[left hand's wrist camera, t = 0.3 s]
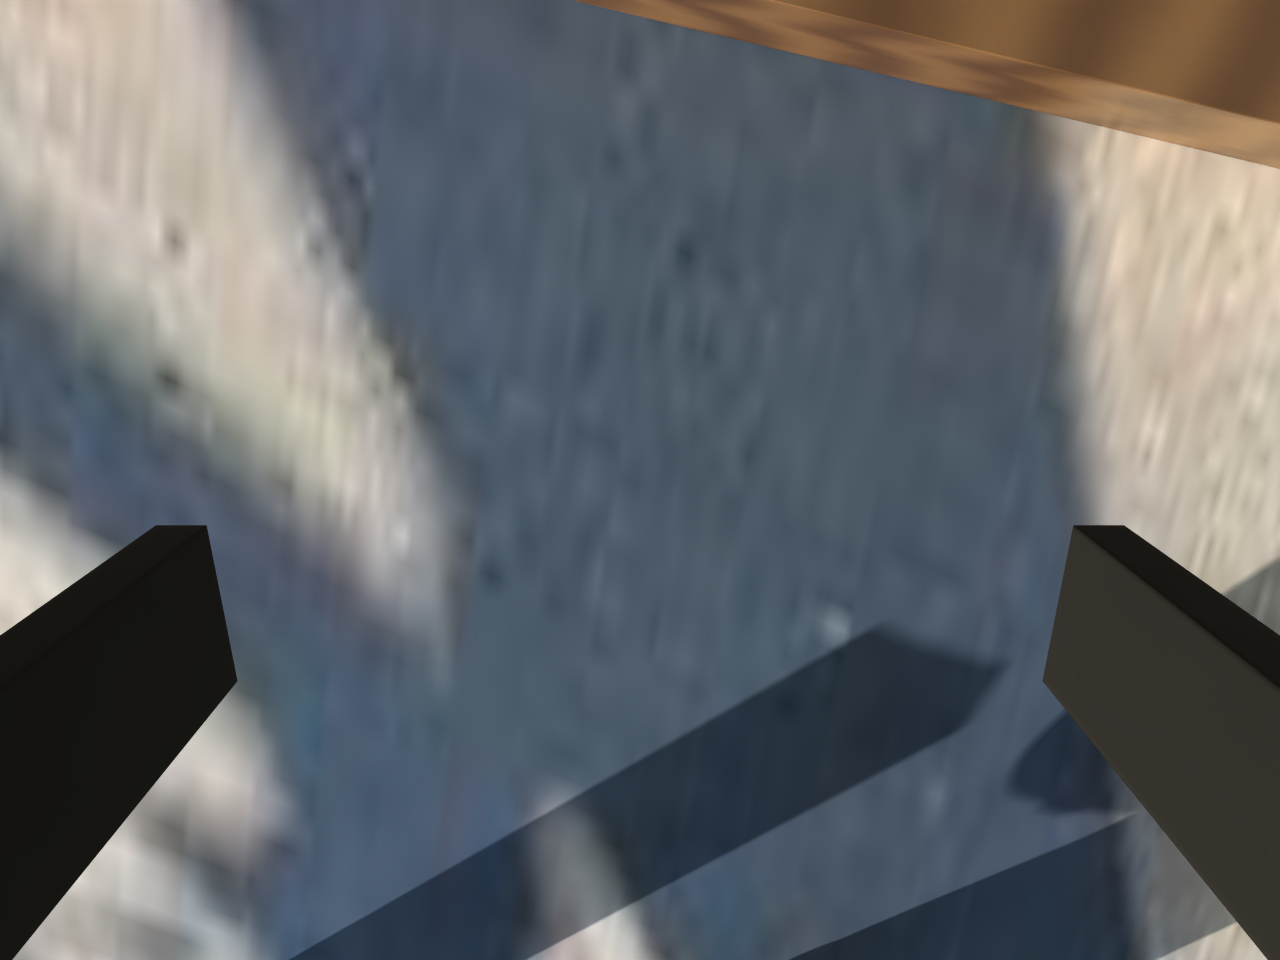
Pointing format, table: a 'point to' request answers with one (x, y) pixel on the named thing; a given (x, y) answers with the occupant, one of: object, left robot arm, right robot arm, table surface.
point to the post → (1043, 56)
